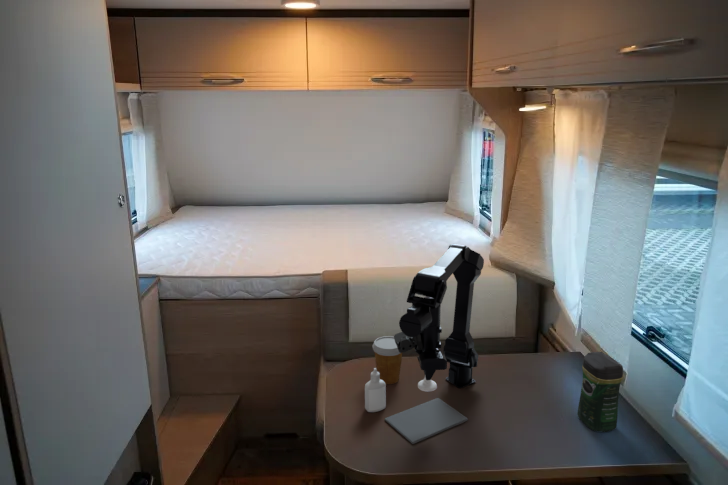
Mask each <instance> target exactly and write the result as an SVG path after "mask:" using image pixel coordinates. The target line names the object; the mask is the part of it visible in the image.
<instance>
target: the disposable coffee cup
mask: <svg viewBox="0 0 728 485" xmlns="http://www.w3.org/2000/svg"><path fill="white" fill-rule="evenodd" d="M372 351H373V352H374V353H373V354H374V359H375V366H376V367H375V368H376V369H377V372H379V373H380V379H381V380H383V381H384V382H385V384H386V385H393V384H396V383H397V382H399V380H400V373H401V368H402V367H401V366H402V361H403V360H402V359H403V353H404V352H403V353H400V352H399V350H398V348H397V345H396V343H395V339H394V335H393V336H392V335H385V336H379V337H377V338H376V339H375V340H373V344H372Z"/></svg>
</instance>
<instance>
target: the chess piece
mask: <svg viewBox="0 0 728 485" xmlns="http://www.w3.org/2000/svg"><path fill="white" fill-rule="evenodd" d="M417 388H418V389H419V390H420V391H422V392H426V393H427V392H428V393H429V392H434V391H435V390H437V389H438V385H437V383H436V381H434V380H432V379H431V380H426V377H425V376H424V377H423V379H421V380H420V381H418V382H417Z"/></svg>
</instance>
